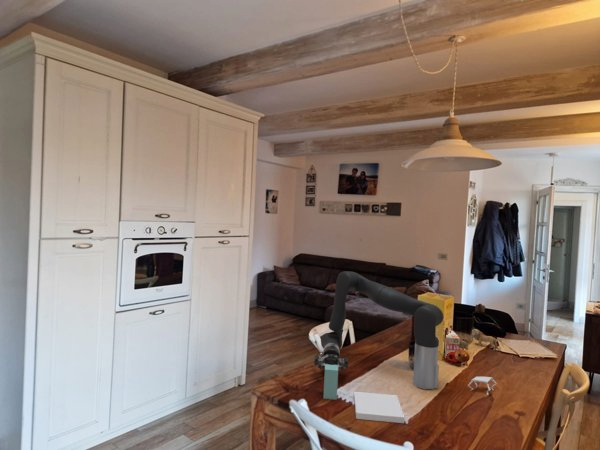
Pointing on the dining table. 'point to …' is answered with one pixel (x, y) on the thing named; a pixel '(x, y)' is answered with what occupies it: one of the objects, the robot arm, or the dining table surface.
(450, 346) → the white printed carton
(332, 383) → the teal block
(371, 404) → the white board
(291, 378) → the dining table surface
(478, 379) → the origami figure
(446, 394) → the dining table surface
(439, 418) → the dining table surface
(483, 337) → the lion figurine
